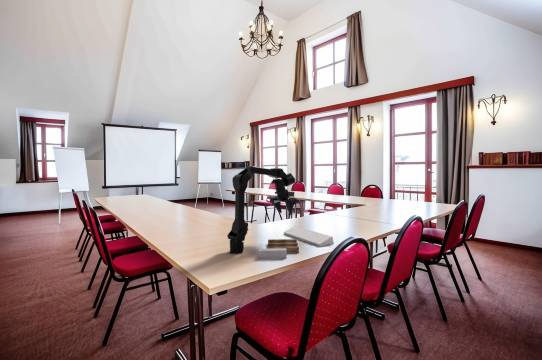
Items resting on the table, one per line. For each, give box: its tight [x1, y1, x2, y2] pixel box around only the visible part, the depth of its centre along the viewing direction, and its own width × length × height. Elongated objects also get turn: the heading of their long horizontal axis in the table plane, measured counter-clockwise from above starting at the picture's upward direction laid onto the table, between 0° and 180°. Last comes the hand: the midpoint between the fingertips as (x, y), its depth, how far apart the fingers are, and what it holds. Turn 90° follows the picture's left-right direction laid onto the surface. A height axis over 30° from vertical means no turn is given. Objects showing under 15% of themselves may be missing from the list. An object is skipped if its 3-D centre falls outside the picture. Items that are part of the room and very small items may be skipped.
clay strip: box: [258, 248, 288, 260], centre depth 131 cm, size 13×4×4 cm, turn 90°
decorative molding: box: [283, 225, 335, 248], centre depth 164 cm, size 34×5×10 cm
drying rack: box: [266, 238, 300, 254], centre depth 145 cm, size 16×16×3 cm
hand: (285, 214), depth 161 cm, fingers open, 9 cm apart
